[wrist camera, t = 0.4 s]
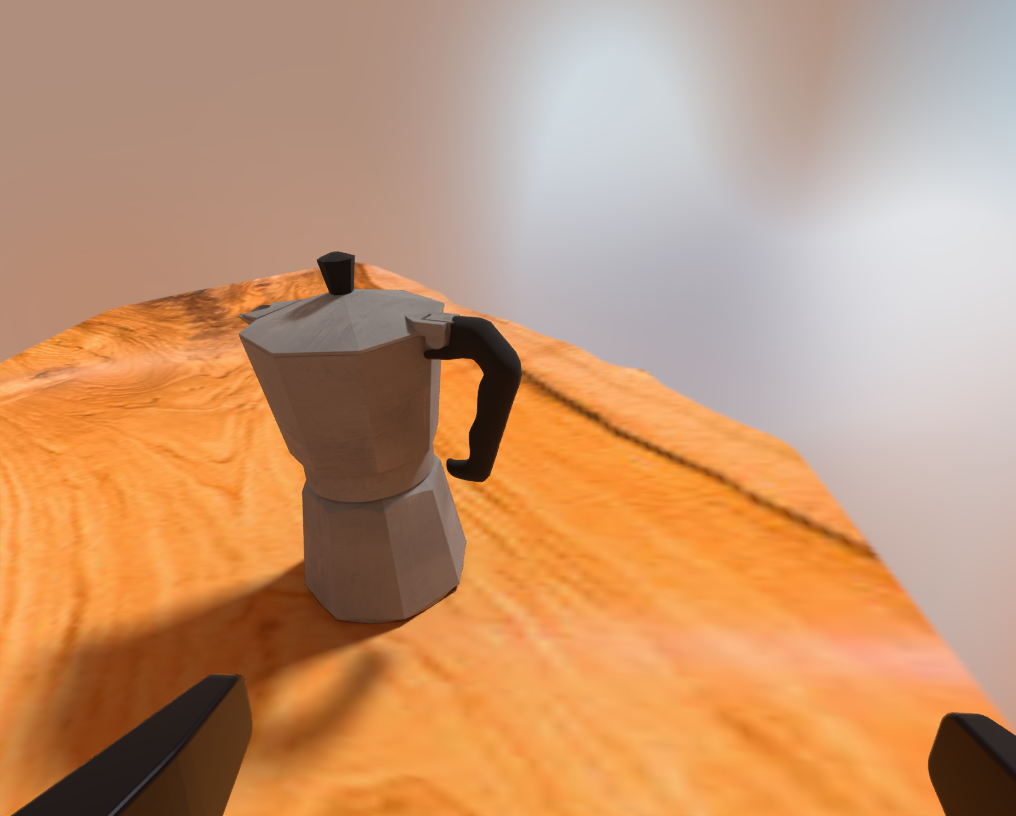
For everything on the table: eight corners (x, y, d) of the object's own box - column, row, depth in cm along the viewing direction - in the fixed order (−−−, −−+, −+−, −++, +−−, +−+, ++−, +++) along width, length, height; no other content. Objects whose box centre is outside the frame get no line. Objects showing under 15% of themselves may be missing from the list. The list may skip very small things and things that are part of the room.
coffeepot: (242, 589, 34) (140, 269, 26) (349, 498, 42) (295, 227, 33) (488, 681, 28) (455, 298, 20) (561, 554, 35) (558, 239, 27)
